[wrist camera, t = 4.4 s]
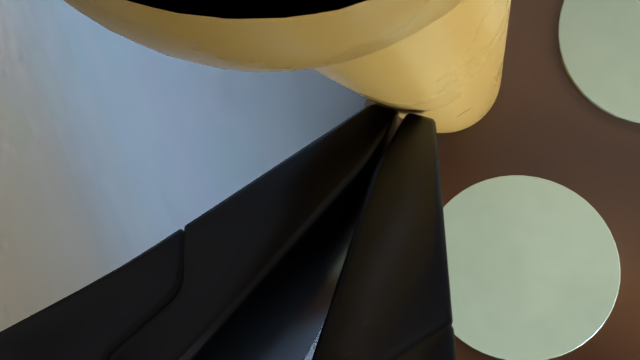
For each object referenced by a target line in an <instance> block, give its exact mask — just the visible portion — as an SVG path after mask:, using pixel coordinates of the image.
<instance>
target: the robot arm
mask: <svg viewBox="0 0 640 360" xmlns="http://www.w3.org/2000/svg"><path fill="white" fill-rule="evenodd" d="M323 323H324V324H323ZM452 323H453V317H452V305H451V293H450V282H449V270H448V259H447V247H446V235H445V224H444V212H443V200H442V189H441V177H440V166H439V154H438V142H437V131H436V122H435V120H434V119H432V118H429V117H425V116H421V115H417V114H414V113H409V114H407V115H406V116H405V117H404V118H403V120H402V122H401V124H400V125H399V112H398V111H397V110H394V109H390V108H386V107H383V106H380V105H378V104H371V105H368V106H367V107H365V108H363V109H362V110H360V111H359V112H357V113H356V114H354V115H353V116H351V117H350V118H348V119H347V120H345V121H344V122H342V123H341V124H339V125H338V126H336V127H335V128H333V129H332V130H330V131H329V132H327V133H325V134H324V135H322V136H321V137H319V138H318V139H316V140H315V141H313V142H312V143H310V144H309V145H307V146H306V147H304V148H303V149H301V150H300V151H298V152H297V153H295V154H294V155H292V156H291V157H289V158H288V159H286V160H284V161H283V162H281V163H280V164H278V165H277V166H275V167H274V168H272V169H271V170H269V171H268V172H266V173H265V174H263V175H262V176H260V177H259V178H257V179H256V180H254V181H253V182H251V183H250V184H248V185H246V186H245V187H243V188H242V189H240V190H239V191H237V192H236V193H234V194H233V195H231V196H230V197H228V198H227V199H225V200H224V201H222V202H221V203H219V204H218V205H216V206H215V207H213V208H212V209H210V210H209V211H207V212H205V213H204V214H202V215H201V216H199V217H198V218H196V219H195V220H193V221H192V222H190V223H189V224H187V225H186V226H185V228H184V230H182V229H180V230H178V231H176V232H175V233H173V234H172V235H170V236H169V237H167V238H166V239H164V240H163V241H161V242H159V243H158V244H156V245H155V246H153V247H152V248H150V249H148V250H147V251H145V252H144V253H142V254H140V255H139V256H137V257H136V258H134V259H132V260H131V261H129V262H128V263H126V264H124V265H123V266H121V267H119V268H118V269H116V270H114V271H112V272H110V273H109V274H107V275H105V276H103V277H102V278H100V279H98V280H96V281H94V282H93V283H91V284H89V285H87V286H86V287H84V288H82V289H80V290H78V291H76V292H75V293H73V294H71V295H69V296H67V297H65V298H63V299H61V300H60V301H58V302H56V303H54V304H52V305H50V306H48V307H46V308H45V309H43V310H41V311H39V312H37V313H35V314H33V315H31V316H30V317H28V318H26V319H24V320H22V321H20V322H18V323H16V324H15V325H13V326H11V327H9V328H7V329H5V330H3V331H1V332H0V360H304V359H305V357H306V355H307V354H308V352H309V350H310V348H311V346H312V344H313V342H314V340H315V338H316V336H317V334H318V332H319V330H320V329H321V327H322V325H323V327H322V330H321V334H320V337H319V340H318V343H317V346H316V349H315V352H314V355H313V358H312V360H457V359H456V348H455V336H454V328H453V327H452Z"/></svg>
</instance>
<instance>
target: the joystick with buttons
mask: <svg viewBox="0 0 640 360" xmlns="http://www.w3.org/2000/svg"><path fill="white" fill-rule="evenodd" d="M64 1H65V2H67V3H68V4H69V5H71V6H72V7H74V8H75V9H76V10H78V11H79V12H81V13H82V14H84V15H86V16H87V17H89V18H91V19H92V20H94V21H96V22H97V23H99V24H100V25H102V26H104V27H105V28H107V29H109V30H110V31H113V32H115V33H117V34H119V35H121V36H123V37H125V38H127V39H130V40H132V41H134V42H136V43H138V44H141V45H143V46H146V47H148V48H150V49H153V50H155V51H158V52H160V53H162V54H165V55H167V56H171V57H175V58H179V59H183V60H187V61H191V62H195V63H199V64H203V65H207V66H212V67H217V68H221V69H229V70H239V71H250V72H276V71H297V70H307V69H314V70H315V71H317V72H319V73H321V74H323V75H324V76H326V77H328V78H330V79H332V80H333V81H335V82H337V83H339V84H341V85H343V86H344V87H346V88H348V89H350V90H352V91H353V92H355V93H357V94H359V95H361V96H362V97H364V98H366V99H367V100H366V103H365V107H367V106H368V105H371V104H378V105H380V106H383V107H386V108H390V109H394V110H397V111H398V112H399V125H400V124H401V122H402V120H403V118H404V117H405V116H406V115H407V114H409V113H414V114H417V115H421V116H425V117H429V118H432V119H434V120H435V122H436V131H437V142H438V154H439V166H440V177H441V189H442V200H443V212H444V224H445V235H446V247H447V259H448V270H449V282H450V293H451V305H452V317H453V323H452V327H453V328H454V336H455V348H456V359H457V360H640V0H64ZM365 107H364V108H365Z"/></svg>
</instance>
